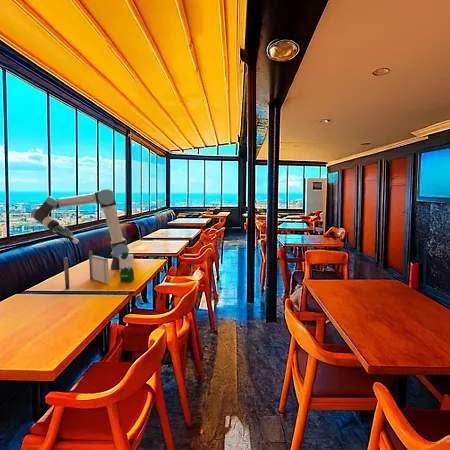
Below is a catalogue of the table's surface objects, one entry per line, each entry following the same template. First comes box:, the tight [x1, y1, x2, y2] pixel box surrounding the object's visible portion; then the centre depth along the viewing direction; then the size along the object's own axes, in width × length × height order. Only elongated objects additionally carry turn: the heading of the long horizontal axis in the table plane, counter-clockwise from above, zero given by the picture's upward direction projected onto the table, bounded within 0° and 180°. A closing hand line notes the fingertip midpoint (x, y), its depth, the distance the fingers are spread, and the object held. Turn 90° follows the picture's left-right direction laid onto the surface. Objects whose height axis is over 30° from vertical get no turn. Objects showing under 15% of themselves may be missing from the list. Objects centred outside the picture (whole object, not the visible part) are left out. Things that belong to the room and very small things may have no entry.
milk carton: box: [119, 252, 135, 283], centre depth 232 cm, size 9×9×20 cm
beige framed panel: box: [91, 255, 110, 284], centre depth 231 cm, size 19×2×16 cm, turn 48°
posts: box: [63, 250, 93, 290], centre depth 226 cm, size 27×2×20 cm, turn 166°
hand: (77, 242), depth 237 cm, fingers closed
